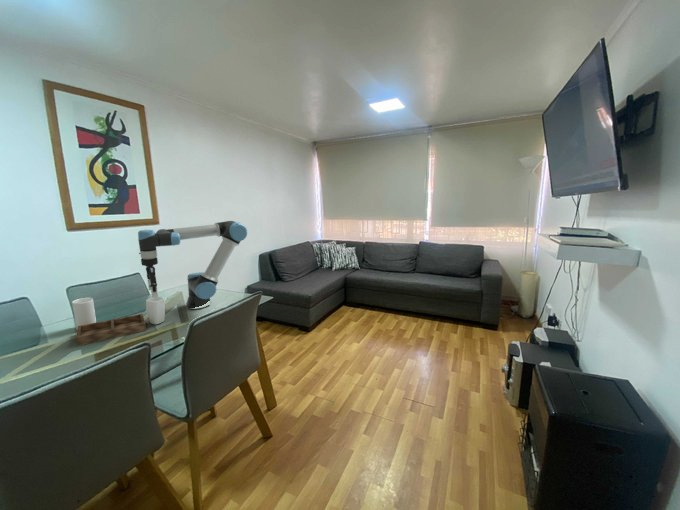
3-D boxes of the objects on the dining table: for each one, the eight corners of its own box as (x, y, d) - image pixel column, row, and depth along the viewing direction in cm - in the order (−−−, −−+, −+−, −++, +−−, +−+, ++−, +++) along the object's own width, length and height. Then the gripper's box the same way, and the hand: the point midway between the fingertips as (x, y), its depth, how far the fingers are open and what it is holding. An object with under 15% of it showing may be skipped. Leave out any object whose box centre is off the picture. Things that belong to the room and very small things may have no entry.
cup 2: (146, 324, 156) (144, 300, 153) (157, 318, 163) (155, 296, 160) (156, 326, 154) (154, 302, 151) (167, 320, 161) (165, 297, 158)
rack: (143, 320, 160) (142, 313, 159) (145, 330, 149) (145, 322, 148) (79, 333, 142) (77, 326, 141) (77, 345, 131) (75, 337, 130)
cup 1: (75, 326, 148) (71, 299, 145) (95, 322, 154) (92, 296, 151) (77, 332, 143) (72, 304, 139) (97, 327, 149) (93, 300, 145)
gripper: (138, 253, 156) (142, 288, 161) (143, 263, 138) (148, 301, 143) (154, 252, 161) (157, 285, 166) (160, 261, 143) (164, 298, 147)
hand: (153, 293), depth 154 cm, fingers open, 13 cm apart
